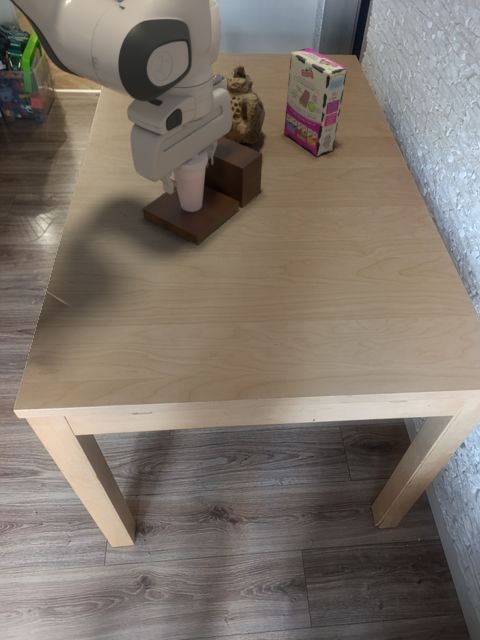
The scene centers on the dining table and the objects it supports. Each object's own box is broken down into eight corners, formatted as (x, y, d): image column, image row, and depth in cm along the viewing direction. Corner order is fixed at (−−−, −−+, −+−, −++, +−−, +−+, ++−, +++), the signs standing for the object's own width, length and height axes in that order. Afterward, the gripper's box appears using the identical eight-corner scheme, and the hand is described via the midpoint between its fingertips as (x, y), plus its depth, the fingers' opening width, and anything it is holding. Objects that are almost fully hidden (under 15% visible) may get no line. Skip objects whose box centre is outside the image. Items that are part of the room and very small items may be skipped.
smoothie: (217, 202, 89) (215, 126, 78) (195, 221, 85) (189, 144, 74) (188, 189, 91) (182, 113, 80) (165, 207, 87) (155, 130, 76)
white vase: (203, 121, 109) (197, 13, 93) (183, 108, 113) (175, 0, 96) (229, 111, 113) (228, 5, 96) (209, 98, 116) (205, -7, 99)
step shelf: (143, 217, 88) (137, 178, 82) (210, 169, 98) (208, 130, 92) (197, 245, 85) (194, 205, 78) (260, 192, 95) (262, 153, 88)
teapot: (195, 120, 110) (190, 45, 98) (244, 112, 113) (245, 38, 101) (230, 173, 98) (229, 95, 86) (283, 162, 101) (290, 86, 89)
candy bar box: (334, 150, 105) (349, 68, 92) (316, 157, 103) (329, 74, 90) (300, 127, 110) (309, 45, 97) (282, 133, 108) (289, 51, 95)
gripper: (209, 63, 79) (212, 145, 90) (117, 114, 69) (133, 199, 80) (242, 75, 78) (240, 157, 88) (152, 129, 67) (163, 214, 78)
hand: (189, 177), depth 84 cm, fingers open, 8 cm apart
